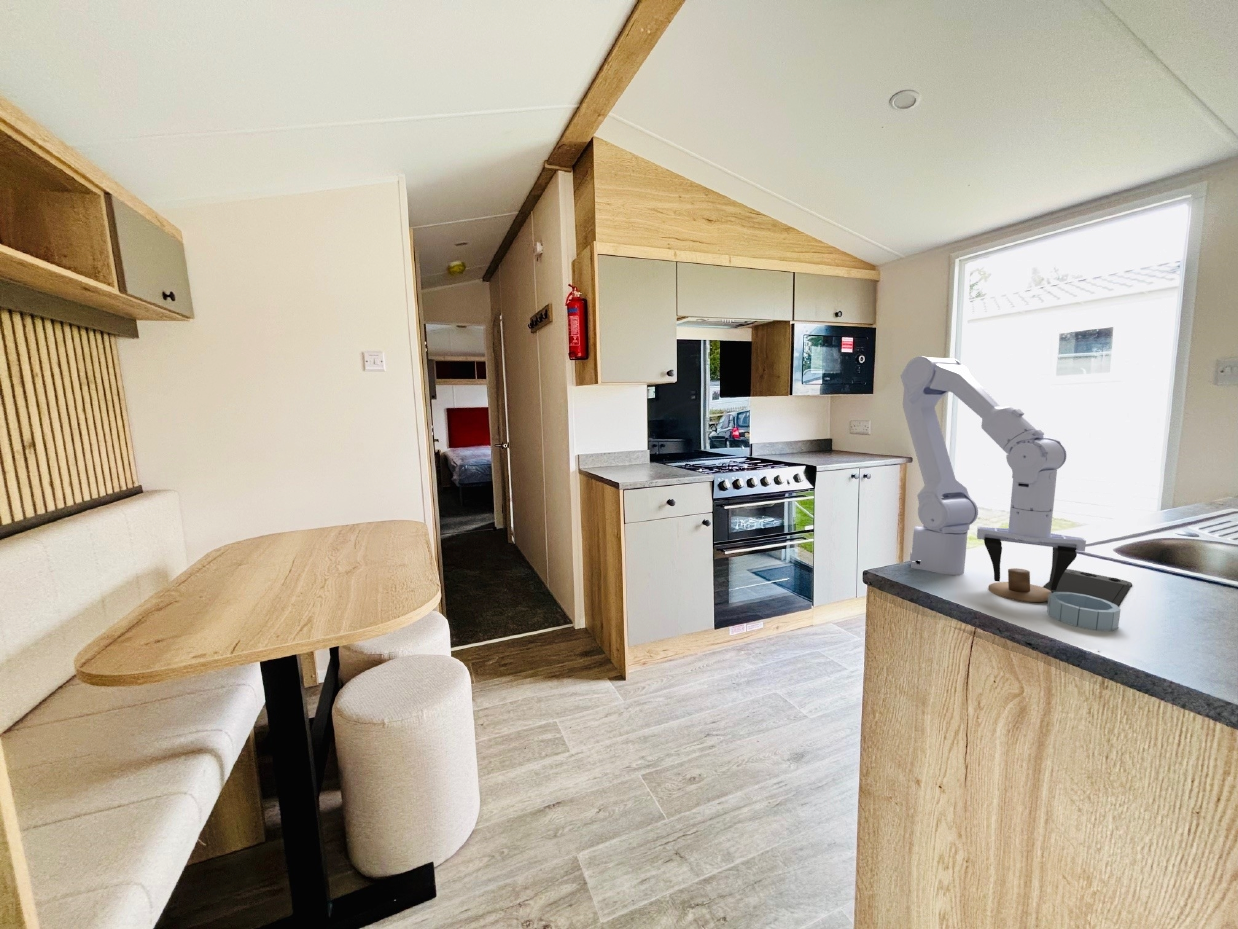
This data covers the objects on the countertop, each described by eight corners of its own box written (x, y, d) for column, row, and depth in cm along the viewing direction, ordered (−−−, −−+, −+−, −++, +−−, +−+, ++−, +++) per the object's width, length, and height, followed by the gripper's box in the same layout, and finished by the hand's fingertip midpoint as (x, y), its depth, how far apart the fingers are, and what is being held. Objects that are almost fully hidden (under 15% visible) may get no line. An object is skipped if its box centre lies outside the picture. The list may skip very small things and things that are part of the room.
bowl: (1051, 626, 77) (1053, 604, 77) (1043, 608, 84) (1045, 588, 83) (1123, 639, 73) (1126, 616, 72) (1109, 620, 79) (1111, 599, 79)
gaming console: (1064, 566, 101) (1134, 580, 94) (1063, 572, 101) (1133, 587, 94) (1032, 593, 86) (1113, 612, 78) (1032, 600, 86) (1112, 620, 79)
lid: (990, 598, 87) (989, 575, 87) (986, 583, 95) (986, 562, 94) (1056, 604, 82) (1056, 580, 82) (1047, 588, 90) (1047, 566, 90)
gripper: (980, 507, 87) (974, 582, 89) (1093, 517, 79) (1084, 600, 81) (979, 501, 93) (973, 571, 94) (1083, 510, 85) (1075, 587, 86)
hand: (1024, 584), depth 88 cm, fingers open, 7 cm apart
